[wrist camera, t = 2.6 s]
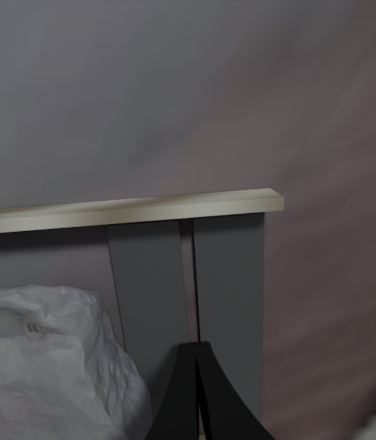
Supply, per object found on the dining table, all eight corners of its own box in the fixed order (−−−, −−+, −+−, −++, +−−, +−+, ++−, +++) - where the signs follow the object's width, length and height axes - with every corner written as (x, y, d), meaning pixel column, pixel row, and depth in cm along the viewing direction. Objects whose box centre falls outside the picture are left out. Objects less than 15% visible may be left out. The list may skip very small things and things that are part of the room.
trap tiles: (262, 211, 12) (264, 213, 12) (258, 422, 16) (260, 427, 16) (107, 224, 12) (105, 226, 12) (141, 434, 16) (140, 440, 15)
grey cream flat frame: (269, 188, 12) (284, 197, 10) (263, 434, 16) (273, 465, 15) (-330, 234, 11) (-410, 250, 9) (-164, 479, 15) (-200, 517, 14)
